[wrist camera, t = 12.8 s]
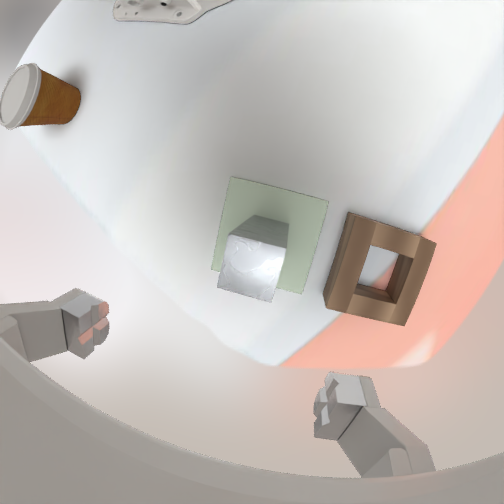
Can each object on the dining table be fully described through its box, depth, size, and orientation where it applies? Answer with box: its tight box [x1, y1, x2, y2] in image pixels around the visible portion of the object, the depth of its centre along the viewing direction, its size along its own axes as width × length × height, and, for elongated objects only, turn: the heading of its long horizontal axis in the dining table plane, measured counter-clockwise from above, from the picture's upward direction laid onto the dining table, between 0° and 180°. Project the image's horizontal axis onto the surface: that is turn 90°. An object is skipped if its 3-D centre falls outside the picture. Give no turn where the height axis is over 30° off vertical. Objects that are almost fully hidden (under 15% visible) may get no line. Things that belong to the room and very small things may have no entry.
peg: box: [217, 215, 289, 302], centre depth 24 cm, size 4×4×12 cm
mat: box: [211, 177, 329, 294], centre depth 30 cm, size 11×11×1 cm
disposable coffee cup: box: [0, 63, 81, 130], centre depth 24 cm, size 10×10×12 cm
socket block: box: [323, 212, 437, 326], centre depth 28 cm, size 10×10×4 cm
